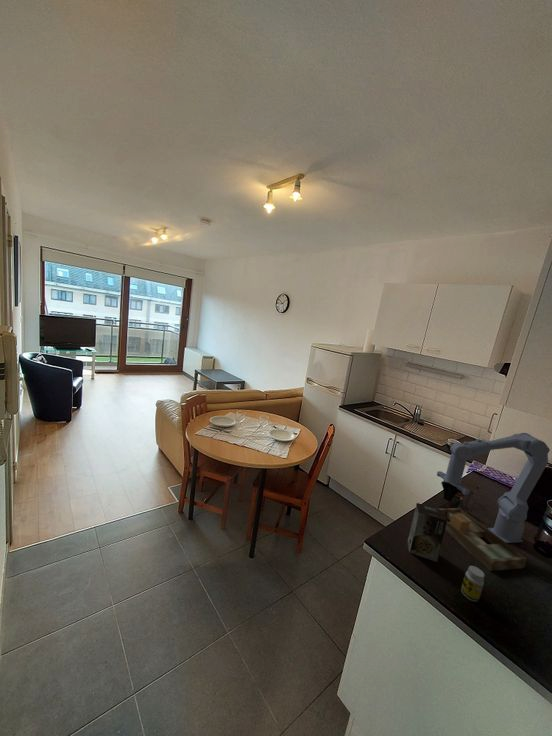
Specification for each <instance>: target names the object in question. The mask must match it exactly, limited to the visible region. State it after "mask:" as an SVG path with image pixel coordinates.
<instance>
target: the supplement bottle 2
mask: <svg viewBox="0 0 552 736" xmlns="http://www.w3.org/2000/svg"><path fill="white" fill-rule="evenodd" d="M484 580H485V573H484V572H483V571H482V569H480V568H479V567H477V566H474V565H469V566H468V568H467V570H466V571H465V573H464V577H463V581H462V584H461V588H460V591H461V594H462V595H463V596H464V597H465V598H466V599H468V600H469V601H471V602H479V601H480V598H481V595H482V591H483V588H484V585H485V582H484Z"/></svg>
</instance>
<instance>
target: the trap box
mask: <svg viewBox="0 0 552 736" xmlns="http://www.w3.org/2000/svg"><path fill="white" fill-rule="evenodd" d="M437 509H440V510H443V511H444V514H445V516H446V519H447V524H446V528H445V532H446V533H448V534H449V536H451V537H452V538H453V539H454V540H455V541H457V543H458V544H459V545H461V547H463V548H464V549H465V550H466V551H467V552H468V553H469V554H470V555H472V556H473V557H474V559H476V560H477V561H478V562H479V563H481V565H483V566H484V567H485V568H486V569H487V570H488V571H489V572H493V571H494V572H495V571H496V572H497V571H507V570H517V569H524V568H525V566H526V563H527V561H528V558H527V557H526V556H524V554H521V553H520V552H519V551H517V550H516V549H514V548H513V546H511V545H510V544H509V543H506V542H504V541H503V540H502V539H500V538H499V537H498V536H496V535H495V534H494V533H492V532H491V531H490V530H488V528H487V527H486V526H485V525H483V524H482V523H481V522H479V521H478V520H477V519H475V518H474V517H473V516H472V515H470V514H469V513H468V512H466V511H465V510H464V509H462V507H461V508H448V507H446V508H444V507H443V508H437ZM457 514H461V515H462V516H463V517H465V518H466V519H467V520H469V521H470V525H469V529H468V531H459V530H458V529H457V528H455V527H454V526H453V525H452V524H451V523H450V521H451V517H452V515H457ZM448 520H449V521H448ZM481 538H484V539H485V540H486V541H488V542H489V544H488V543H486V542H485V541H484V540H483V539H481Z"/></svg>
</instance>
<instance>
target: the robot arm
mask: <svg viewBox="0 0 552 736" xmlns="http://www.w3.org/2000/svg"><path fill="white" fill-rule="evenodd" d="M510 448H511V449H512V448H515V449H517V450H519V451H523V452H524V454H525V456H526V458H527V461H526V462H525V464H524V466H523V468H522V470H521V472H520V474H519V475H518V477H517V479H516V481H515V482H514V484H513V485H512V488H511V490H510V491H505V492H504V493H503V495H502V496H500V497H499V498H498V499H497V507H499V508H498V513H497V516H496V518H495V523H494V526H493V527H488V528H487V529H488V530H490V531H491V532H492V533H494V534H495V535H496V536H498V537H499V538H500V539H502V540H503V541H504V542H506V543H507V544H513V543H523V542H524V541H523V540H522V536H523V533H524V530H525V523H524V522H525V521H526V520H527V518H528V510H529V508H530V507H529V505H528V502H527V501H528V499H529V497H530V495H531V493H532V491H533V490H534V488H535V486H536V485H537V483H538V481H539V479H540V478H541V476H542V474H543V473H544V470H545V469H546V467H547V465H548V463H549V455H548V454H549V452H550V450H551V449H550V448H549V446H548V445H547V444H546V442H545V441H543V440H540V439H538V438H536V437H534V436H532V434H529V433H527V432H520V433H514V434H513V435H510V436H505V437H502V438H497V439H493V440H489V441H486V440H484V439H480V438H477V439H475V440H471V441H463V442H460V441H458V442H457V441H456V442H454V443H453V444H452V445H451V446H449V450H450V452H451V455H450V457H449V461H448V465H447V469H446V472H442V471H440V470H439V471H438V470H437V472H436V476H437V477H440V478H441V479H443V481H441V485H442V491H443V499H444V500H445V501H451V500H452V499H453V497H454V496H455V495H456V494H457V493H458V492H459V491H461V492H463V494H464V496H465V495H467V496H468V495H469V493H470V489H469V488H467V487H466V486H465V485H464V484H463V483H462V482H461V481H462V479H463V475H464V472H465V467H466V463H467V461H469V460H470V459H471V458H472V457H475V456H476V457H477V456H480V455H487V454H489V453H490V452H491V451H493V450H494V451H495V450H502V449H510Z"/></svg>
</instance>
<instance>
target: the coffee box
mask: <svg viewBox="0 0 552 736" xmlns="http://www.w3.org/2000/svg"><path fill="white" fill-rule="evenodd" d="M447 521H448V519H447V518H446V516H445V514H444V511H443V510H440V509H438V508H436V507H433V506H429V505H425V504H423V503H419V502H416V505H415V509H414V514H413V517H412V521H411V525H410V530H409V534H408V537H407V547H408V551H409V552H408V553H410V554H413V555H415V556H418V557H421V558H423V559H424V558H425V559H427V560H430V561H432V562H435V563H436V562H437V563H438V559H439V555H440V552H441V546H442V543H443V539H444V536H445V532H446V531H445V528H446V524H447Z"/></svg>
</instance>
